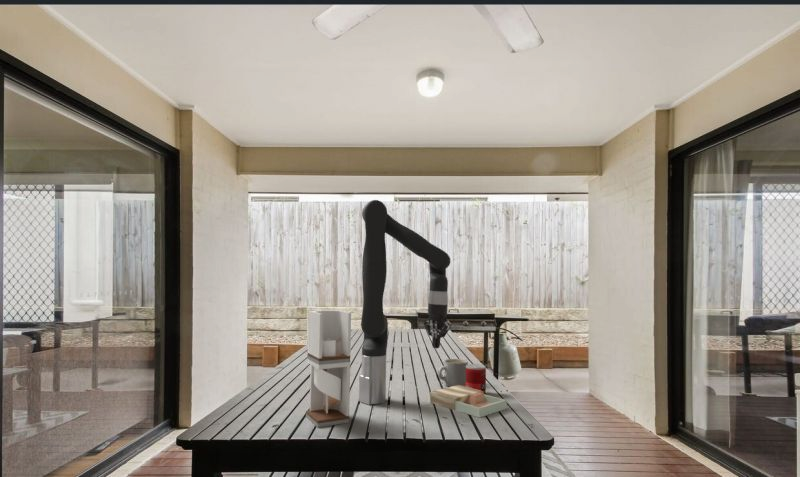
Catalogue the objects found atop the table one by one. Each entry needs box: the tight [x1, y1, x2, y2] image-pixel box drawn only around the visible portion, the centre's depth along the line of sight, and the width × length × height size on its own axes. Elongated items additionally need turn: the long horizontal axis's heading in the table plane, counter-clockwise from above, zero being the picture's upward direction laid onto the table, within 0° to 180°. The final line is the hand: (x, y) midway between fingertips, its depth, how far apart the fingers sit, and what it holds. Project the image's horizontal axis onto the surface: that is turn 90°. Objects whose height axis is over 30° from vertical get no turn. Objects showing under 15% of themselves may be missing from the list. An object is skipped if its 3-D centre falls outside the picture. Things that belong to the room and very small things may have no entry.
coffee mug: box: [437, 358, 469, 387], centre depth 200 cm, size 13×10×10 cm
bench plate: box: [429, 385, 483, 411], centre depth 173 cm, size 16×12×4 cm
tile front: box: [476, 401, 492, 407], centre depth 163 cm, size 5×5×2 cm
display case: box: [305, 309, 352, 428], centre depth 153 cm, size 11×11×35 cm
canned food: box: [466, 363, 487, 395], centre depth 186 cm, size 8×8×11 cm
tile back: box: [470, 392, 484, 406], centre depth 167 cm, size 5×5×2 cm
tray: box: [454, 393, 508, 418], centre depth 165 cm, size 16×11×3 cm
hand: (436, 347), depth 179 cm, fingers closed
